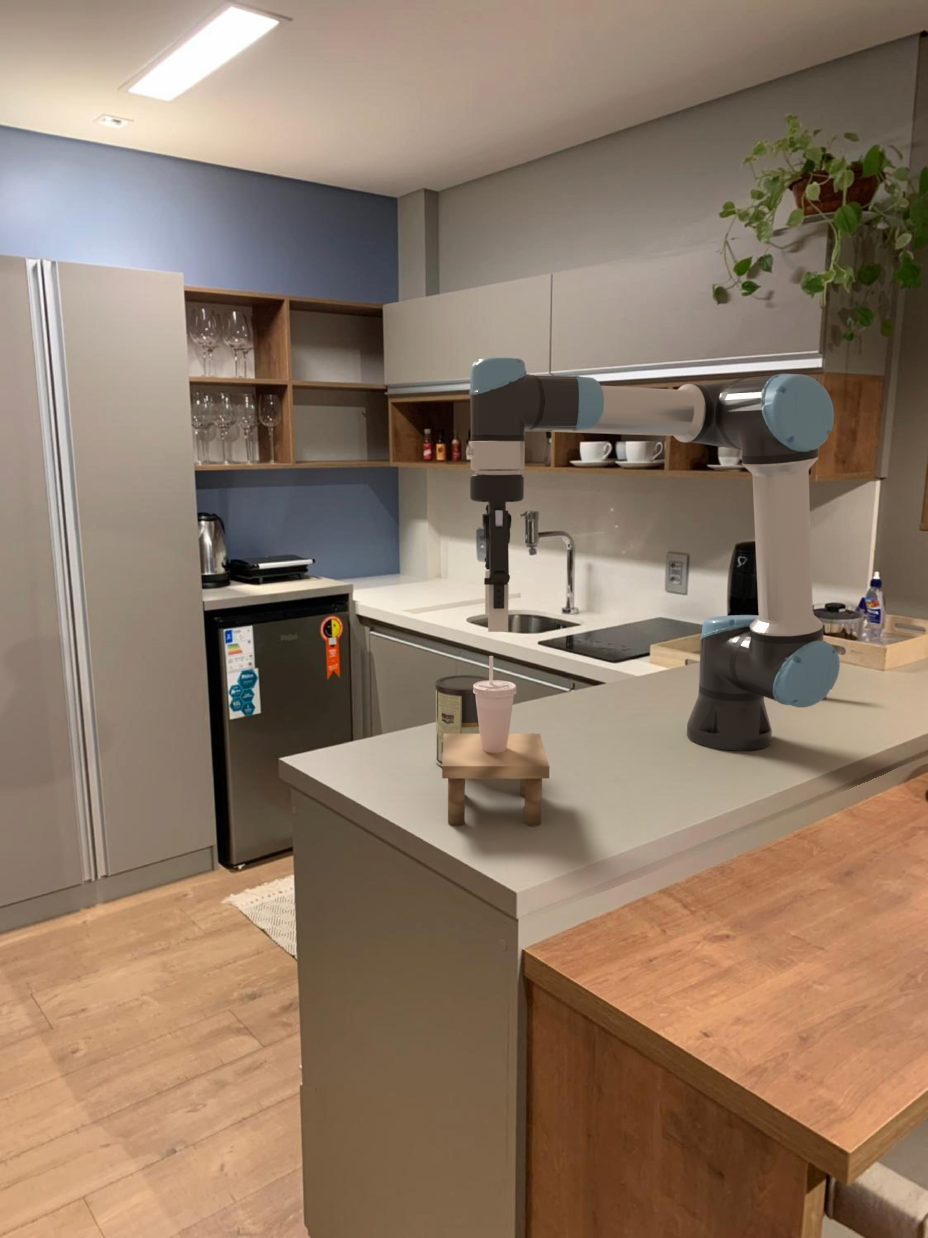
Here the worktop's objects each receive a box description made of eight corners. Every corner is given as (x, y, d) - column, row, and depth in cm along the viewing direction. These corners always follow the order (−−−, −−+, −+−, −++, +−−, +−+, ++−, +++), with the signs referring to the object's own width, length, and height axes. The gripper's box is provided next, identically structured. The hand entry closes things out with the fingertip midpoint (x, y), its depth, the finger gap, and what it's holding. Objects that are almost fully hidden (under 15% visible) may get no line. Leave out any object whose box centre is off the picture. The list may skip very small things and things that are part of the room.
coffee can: (499, 754, 164) (500, 676, 162) (489, 773, 154) (490, 691, 152) (442, 750, 166) (442, 673, 164) (428, 769, 156) (428, 687, 154)
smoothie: (470, 742, 141) (471, 651, 138) (512, 741, 142) (514, 651, 139) (474, 756, 135) (475, 661, 132) (518, 755, 135) (520, 661, 133)
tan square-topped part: (538, 790, 147) (540, 733, 146) (548, 828, 132) (549, 766, 131) (443, 789, 147) (443, 733, 145) (442, 828, 132) (442, 766, 131)
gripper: (468, 470, 143) (468, 607, 147) (471, 475, 118) (471, 639, 122) (518, 470, 143) (516, 607, 147) (530, 475, 119) (528, 639, 122)
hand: (496, 622), depth 135 cm, fingers open, 13 cm apart
